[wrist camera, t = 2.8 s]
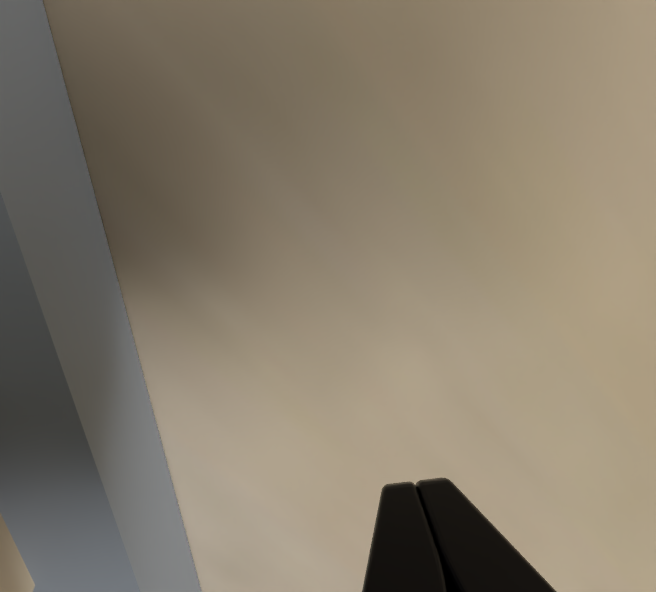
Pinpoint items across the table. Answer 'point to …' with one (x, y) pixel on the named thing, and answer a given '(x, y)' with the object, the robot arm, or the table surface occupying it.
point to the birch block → (12, 565)
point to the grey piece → (70, 355)
